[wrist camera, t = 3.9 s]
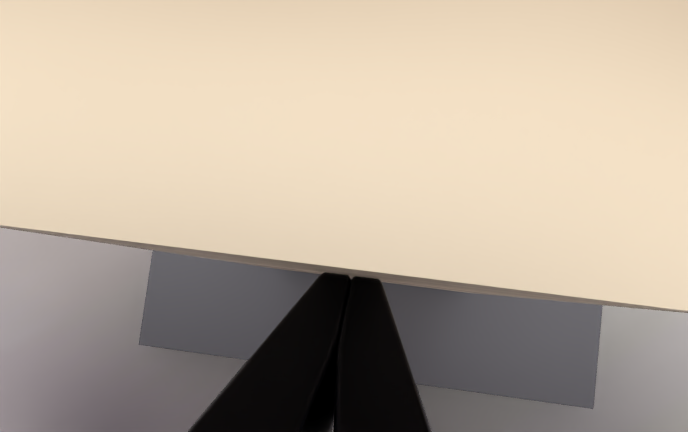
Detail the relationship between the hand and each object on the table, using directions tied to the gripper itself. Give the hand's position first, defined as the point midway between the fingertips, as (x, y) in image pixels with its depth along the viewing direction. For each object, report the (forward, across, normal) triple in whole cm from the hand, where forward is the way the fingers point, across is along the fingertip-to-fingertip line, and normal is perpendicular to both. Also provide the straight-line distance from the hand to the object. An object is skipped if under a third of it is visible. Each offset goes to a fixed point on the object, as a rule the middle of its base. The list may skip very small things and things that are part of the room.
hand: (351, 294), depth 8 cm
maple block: (+7, 0, +3) cm, 8 cm away
